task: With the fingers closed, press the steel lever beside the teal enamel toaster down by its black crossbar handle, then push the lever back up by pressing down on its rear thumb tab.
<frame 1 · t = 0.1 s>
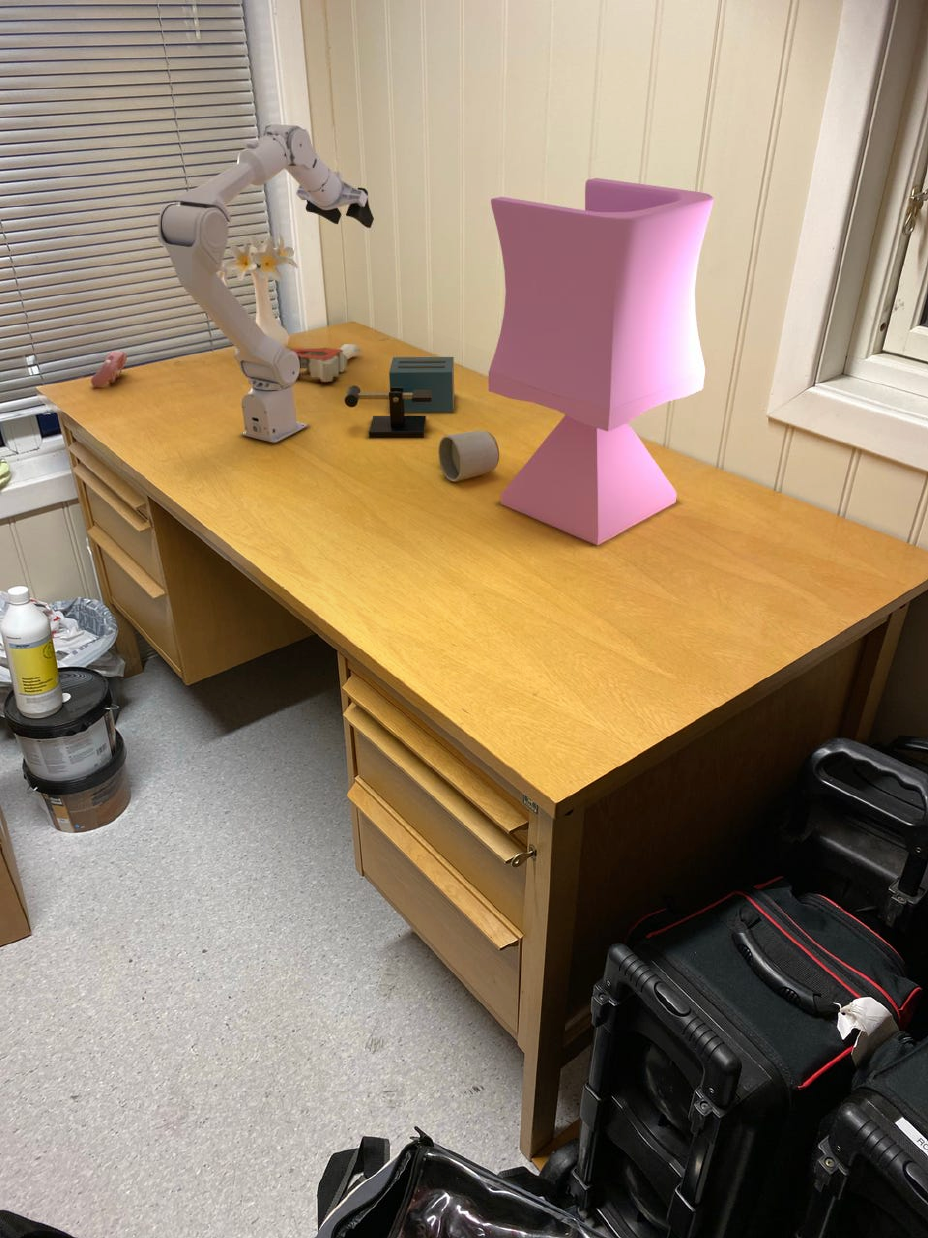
hand: (354, 220, 179), 32 cm above the table, tool tilted 50°, fingers open, 7 cm apart
bracket: (398, 429, 177), on the table
toaster: (423, 404, 188), on the table
pink lumpy figure: (112, 381, 202), on the table
red grey lobed slab: (326, 373, 204), on the table
pink tall piece: (588, 504, 151), on the table
flower vase: (268, 355, 214), on the table
lever: (389, 395, 173), point 7 cm above the table, hinge at 0.0°
ceramic mug: (464, 473, 161), on the table
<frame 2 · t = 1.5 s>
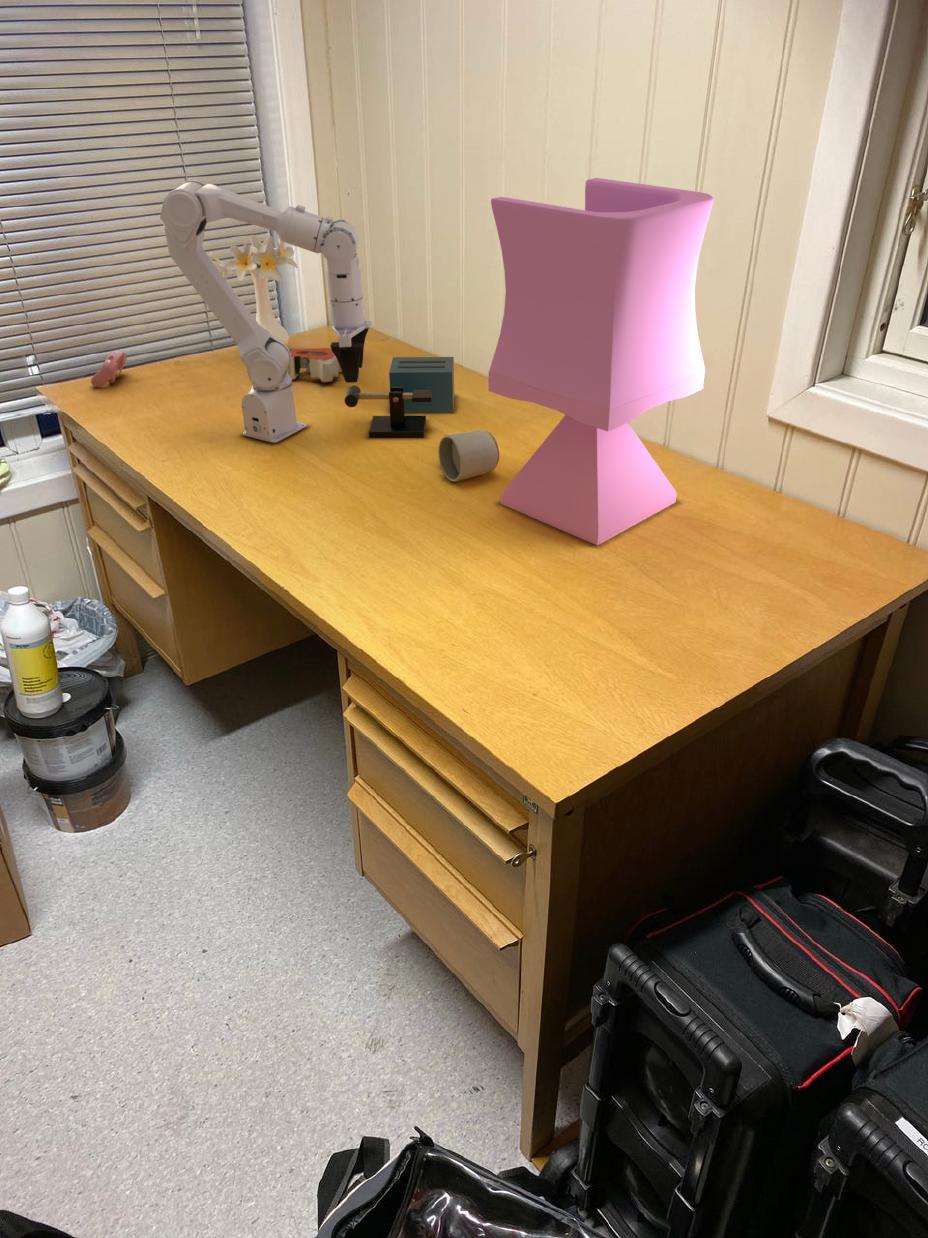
hand: (353, 374, 171), 10 cm above the table, tool pointing down, fingers open, 7 cm apart
nothing on the table moved.
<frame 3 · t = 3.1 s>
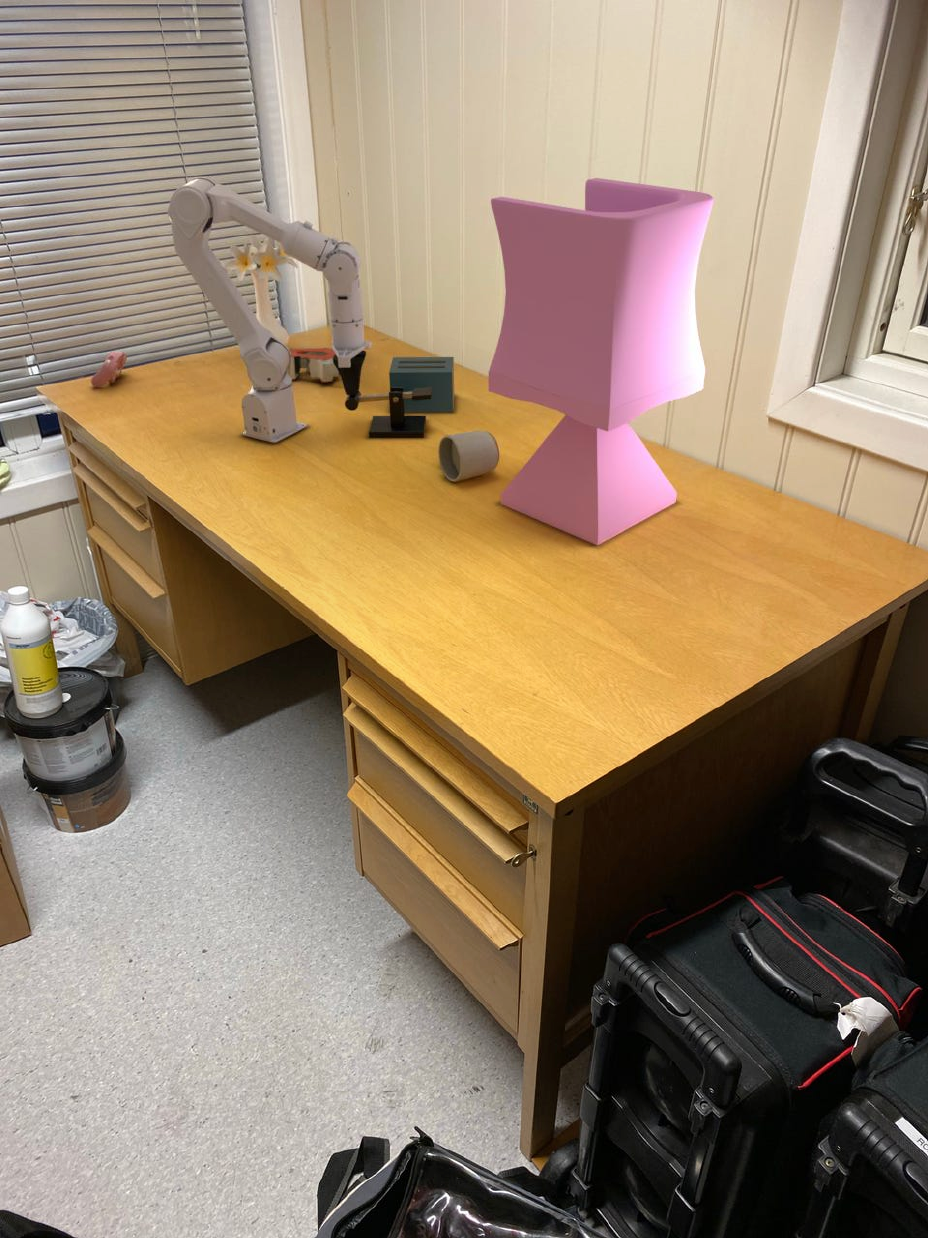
hand: (352, 393, 173), 7 cm above the table, tool pointing down, fingers closed, pressing on lever
lever: (389, 396, 173), point 6 cm above the table, hinge at -4.7°, touching gripper
everything else where it was.
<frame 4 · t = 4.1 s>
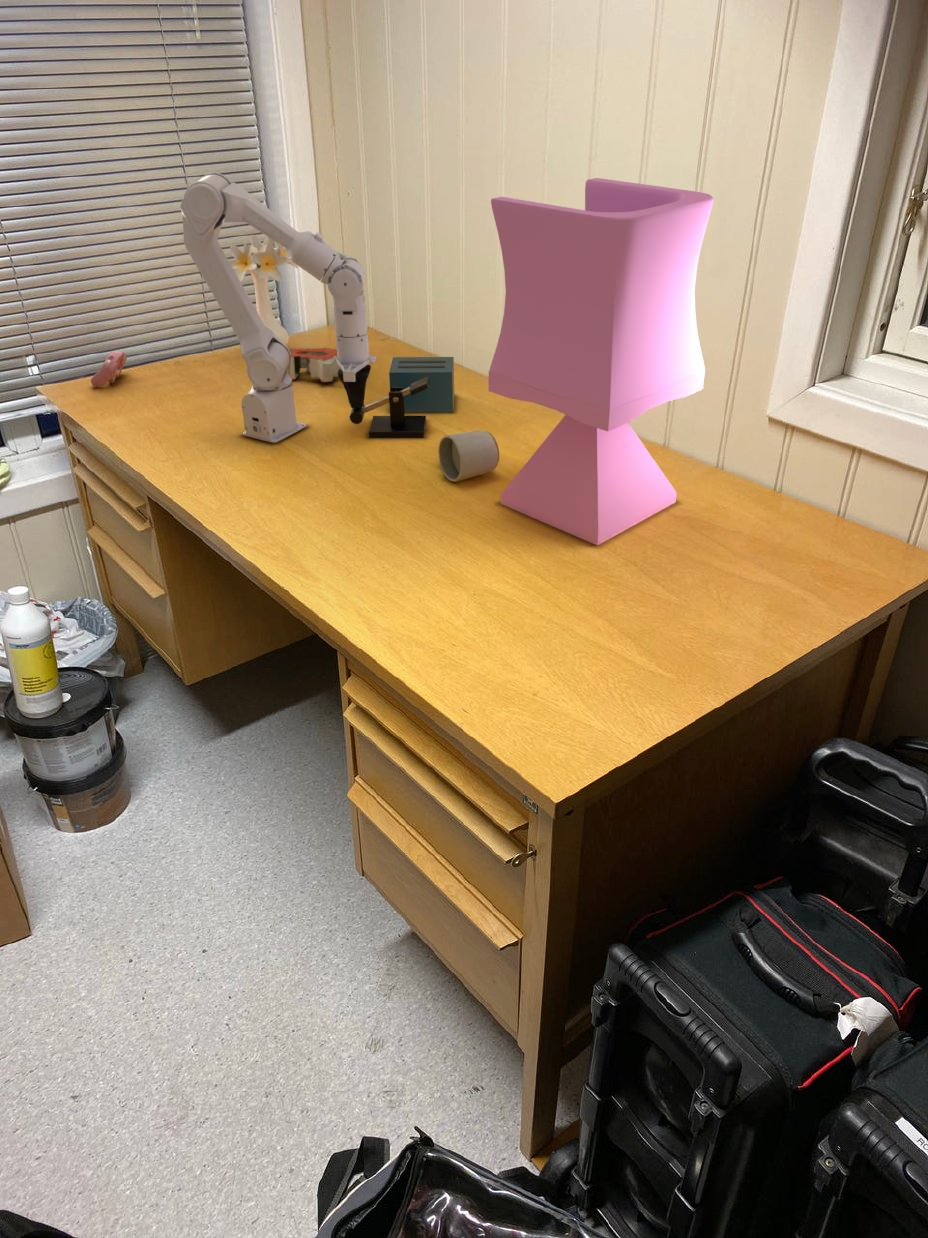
hand: (357, 406, 175), 4 cm above the table, tool pointing down, fingers closed, pressing on lever
lever: (389, 398, 174), point 6 cm above the table, hinge at -23.5°, touching gripper
everything else where it was.
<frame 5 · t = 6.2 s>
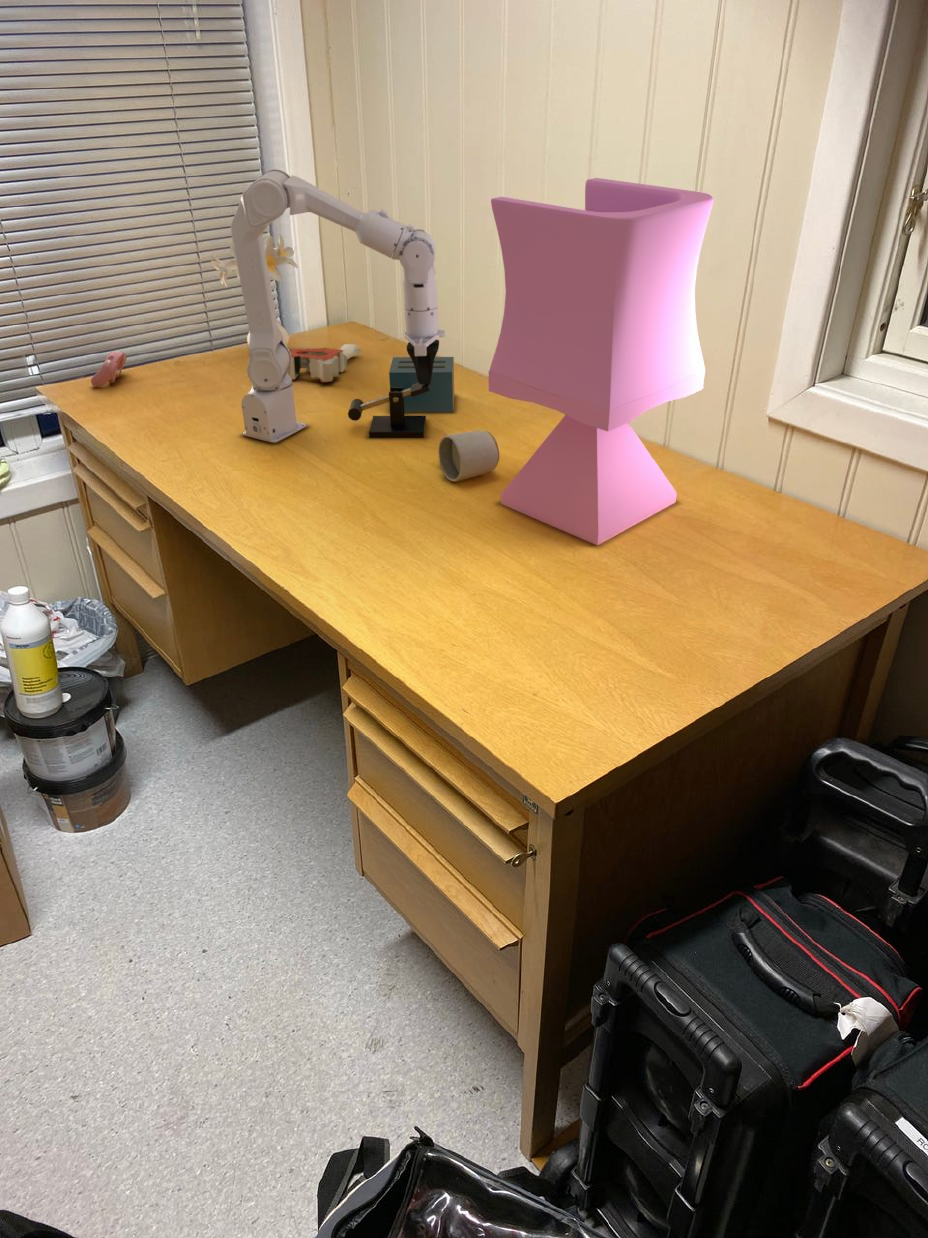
hand: (425, 382, 172), 9 cm above the table, tool pointing down, fingers closed, pressing on lever
lever: (389, 398, 174), point 6 cm above the table, hinge at -18.6°, touching gripper
everything else where it was.
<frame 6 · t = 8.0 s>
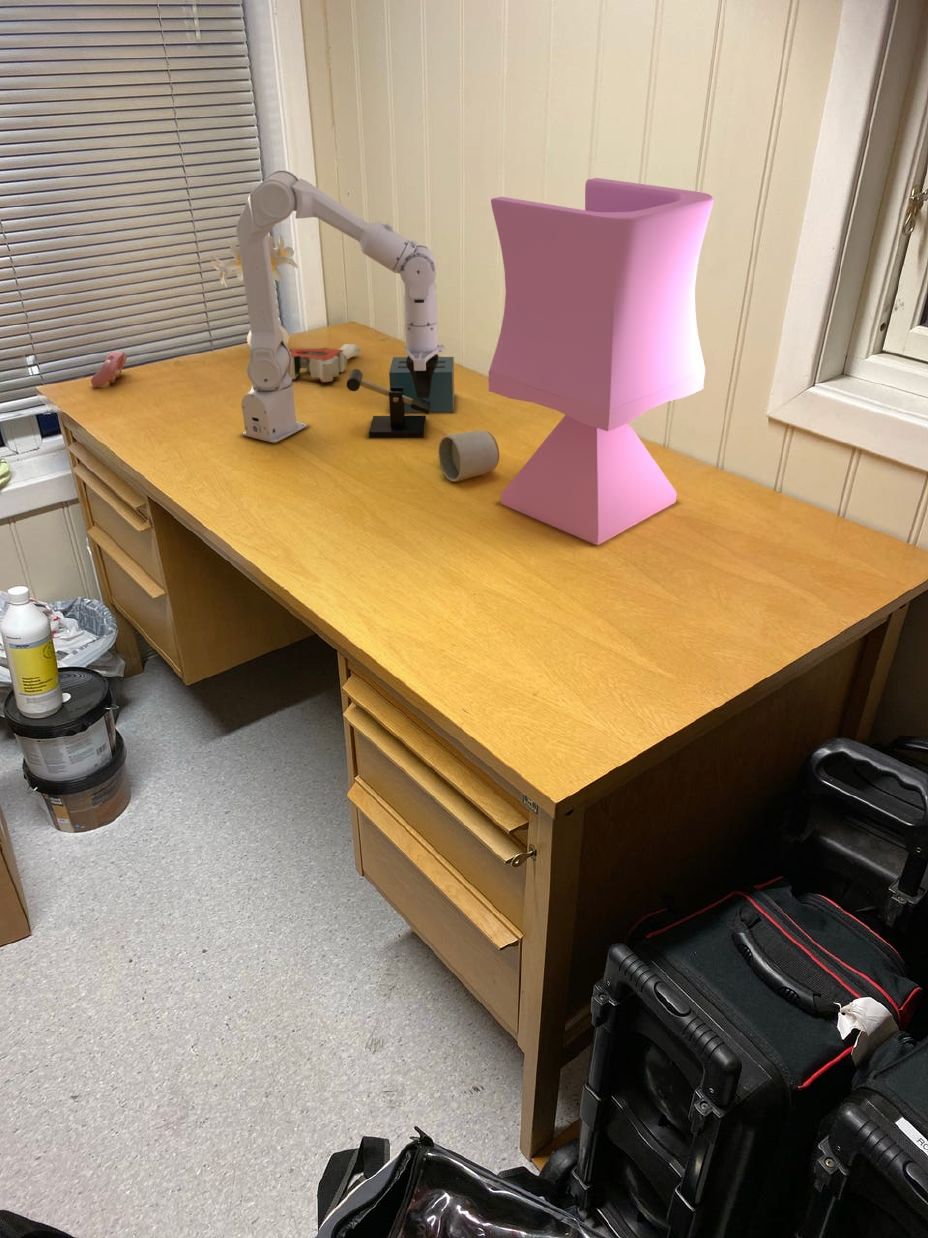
hand: (423, 396, 173), 6 cm above the table, tool pointing down, fingers closed
lever: (389, 393, 173), point 7 cm above the table, hinge at 22.3°
everything else where it was.
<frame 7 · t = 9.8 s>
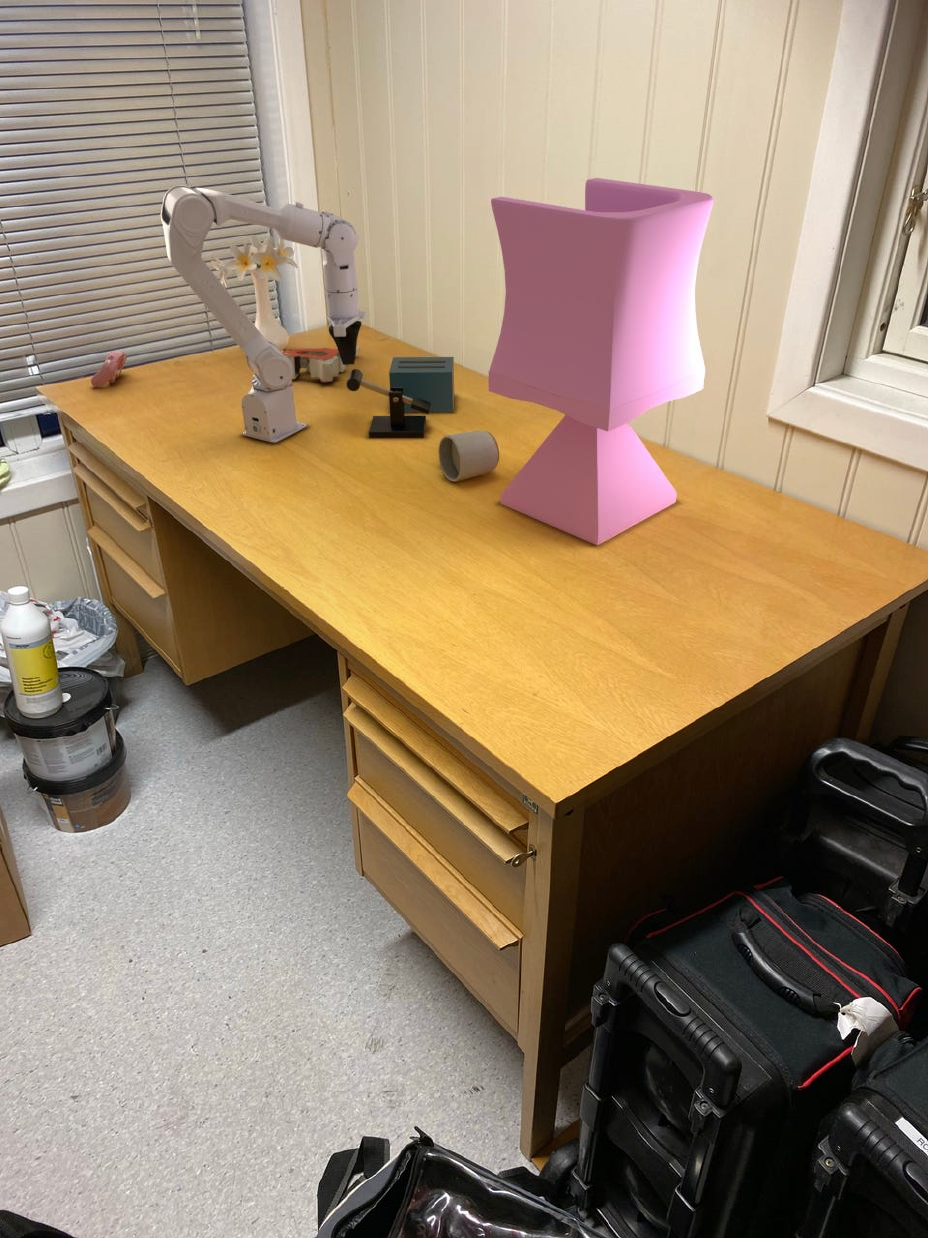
hand: (348, 363, 177), 10 cm above the table, tool pointing down, fingers closed
nothing on the table moved.
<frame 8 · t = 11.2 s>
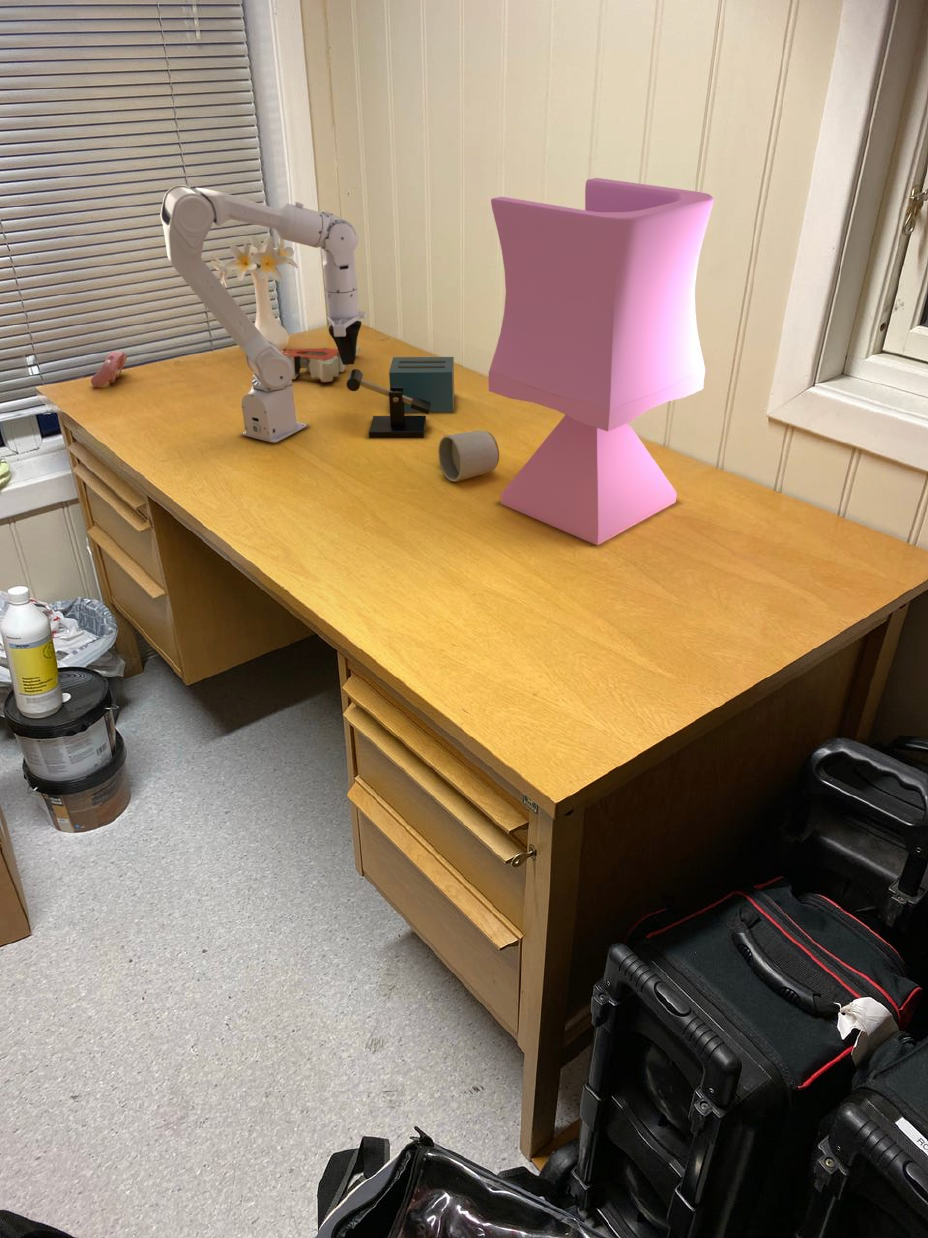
hand: (348, 363, 177), 10 cm above the table, tool pointing down, fingers closed
nothing on the table moved.
at the end: lever reached -24° during the clip, +22° at the end; lever at +22° (first picture: +0°) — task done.
